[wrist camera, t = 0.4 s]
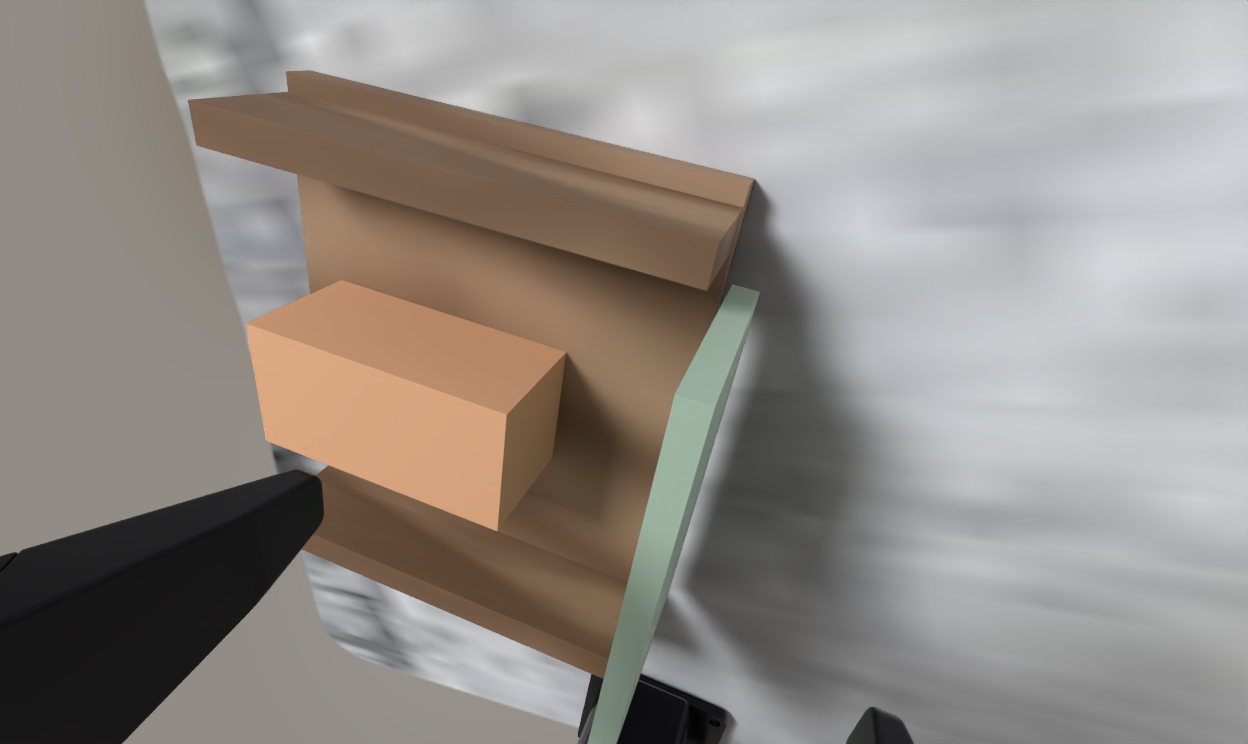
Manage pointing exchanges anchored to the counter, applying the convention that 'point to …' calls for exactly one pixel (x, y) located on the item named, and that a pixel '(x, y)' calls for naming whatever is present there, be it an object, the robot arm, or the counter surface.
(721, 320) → the pale green rectangular block
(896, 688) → the counter surface
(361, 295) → the peach rectangular block
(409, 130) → the brown wooden tray
